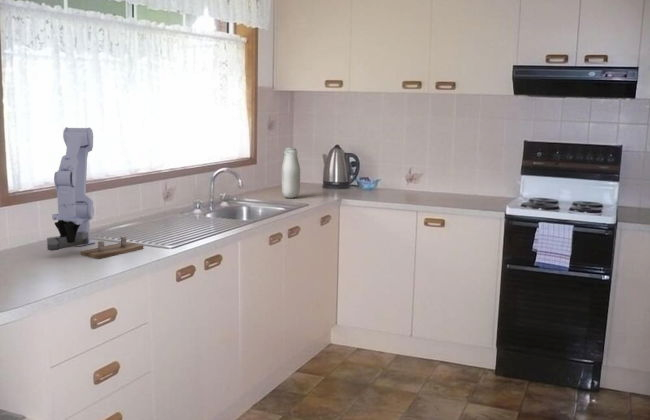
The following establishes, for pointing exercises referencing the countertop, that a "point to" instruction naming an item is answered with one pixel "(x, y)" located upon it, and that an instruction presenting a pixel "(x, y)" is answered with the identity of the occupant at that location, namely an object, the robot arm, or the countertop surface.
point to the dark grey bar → (66, 241)
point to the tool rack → (111, 249)
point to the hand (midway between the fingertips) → (68, 241)
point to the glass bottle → (290, 173)
